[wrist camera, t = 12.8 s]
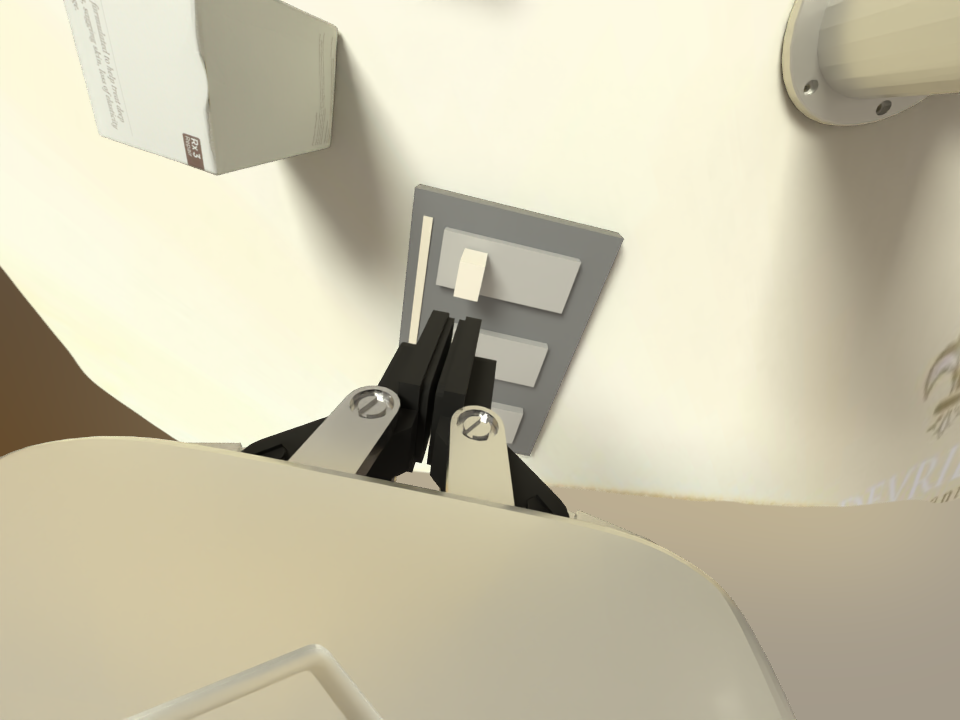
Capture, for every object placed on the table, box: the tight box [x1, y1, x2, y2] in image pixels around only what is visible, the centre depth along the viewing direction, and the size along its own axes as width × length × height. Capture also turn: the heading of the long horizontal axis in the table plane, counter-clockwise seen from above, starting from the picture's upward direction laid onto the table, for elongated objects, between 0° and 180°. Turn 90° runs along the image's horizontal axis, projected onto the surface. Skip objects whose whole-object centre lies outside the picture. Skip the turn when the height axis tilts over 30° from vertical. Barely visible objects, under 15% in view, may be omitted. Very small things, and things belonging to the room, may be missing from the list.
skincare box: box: [63, 0, 338, 175], centre depth 22 cm, size 8×6×15 cm
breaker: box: [454, 248, 488, 302], centre depth 30 cm, size 2×3×4 cm, turn 168°
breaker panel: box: [399, 184, 624, 456], centre depth 38 cm, size 18×28×3 cm, turn 168°
